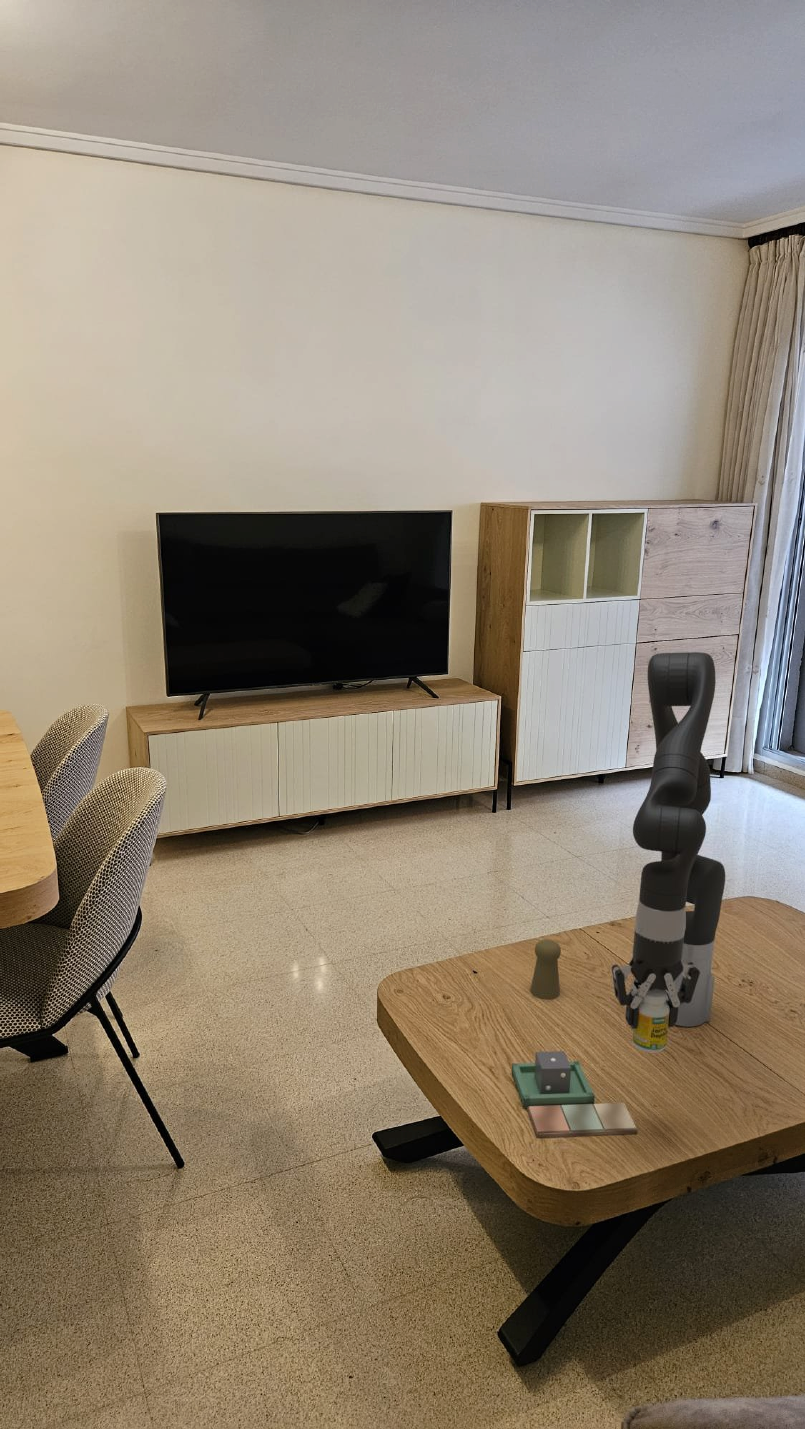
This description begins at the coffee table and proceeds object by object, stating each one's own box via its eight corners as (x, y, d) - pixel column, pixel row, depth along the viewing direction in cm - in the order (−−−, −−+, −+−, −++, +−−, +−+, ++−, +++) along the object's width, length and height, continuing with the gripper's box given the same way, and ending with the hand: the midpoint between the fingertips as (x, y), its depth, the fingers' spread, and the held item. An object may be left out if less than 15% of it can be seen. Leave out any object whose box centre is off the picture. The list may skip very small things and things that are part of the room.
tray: (577, 1070, 175) (578, 1061, 174) (593, 1105, 165) (594, 1096, 165) (511, 1072, 174) (512, 1063, 173) (523, 1108, 164) (524, 1098, 164)
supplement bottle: (647, 1031, 162) (653, 979, 160) (673, 1047, 158) (678, 993, 156) (624, 1041, 159) (629, 987, 157) (649, 1057, 155) (655, 1003, 153)
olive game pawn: (526, 995, 199) (529, 946, 197) (534, 981, 205) (537, 933, 202) (556, 1002, 197) (559, 952, 195) (563, 988, 203) (566, 939, 200)
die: (563, 1076, 172) (565, 1049, 171) (571, 1094, 167) (573, 1067, 166) (534, 1077, 172) (535, 1050, 170) (540, 1095, 166) (542, 1068, 165)
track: (623, 1106, 165) (624, 1101, 165) (637, 1133, 159) (637, 1128, 158) (527, 1109, 164) (527, 1105, 163) (536, 1137, 157) (537, 1132, 157)
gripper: (694, 916, 158) (684, 1011, 162) (607, 918, 156) (599, 1014, 161) (713, 938, 151) (702, 1036, 155) (622, 940, 149) (614, 1040, 153)
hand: (650, 1024), depth 158 cm, fingers closed on supplement bottle, 5 cm apart
